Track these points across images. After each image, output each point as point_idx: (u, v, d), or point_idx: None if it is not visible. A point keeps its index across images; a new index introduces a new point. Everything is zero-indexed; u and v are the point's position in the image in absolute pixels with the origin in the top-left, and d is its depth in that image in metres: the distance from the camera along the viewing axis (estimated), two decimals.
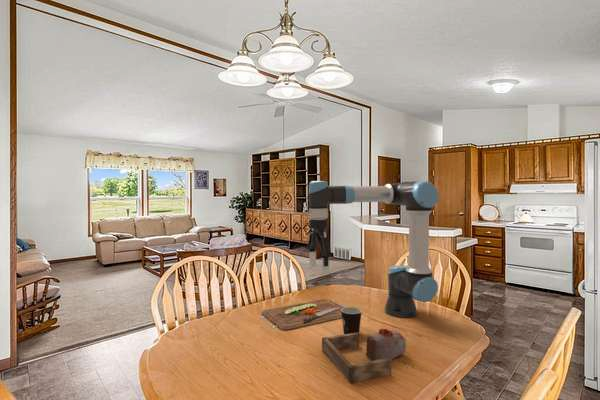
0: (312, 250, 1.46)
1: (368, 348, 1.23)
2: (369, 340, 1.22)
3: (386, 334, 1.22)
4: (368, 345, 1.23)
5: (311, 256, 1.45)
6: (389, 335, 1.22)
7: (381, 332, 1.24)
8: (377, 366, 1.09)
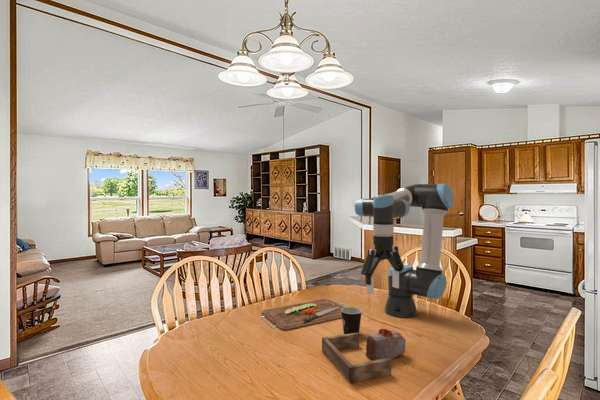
0: (396, 269, 1.33)
1: (368, 348, 1.23)
2: (368, 340, 1.22)
3: (386, 334, 1.22)
4: (368, 345, 1.23)
5: (393, 275, 1.34)
6: (389, 335, 1.22)
7: (381, 332, 1.24)
8: (377, 366, 1.09)
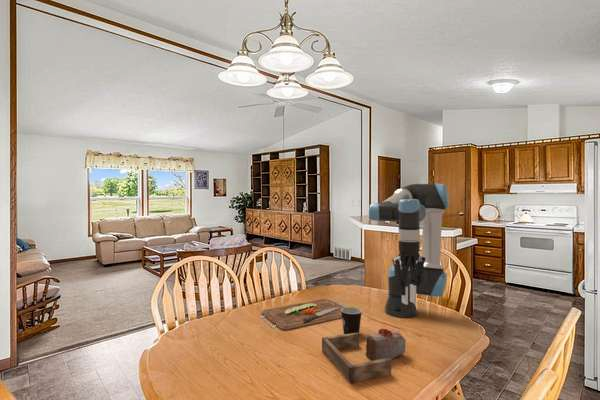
0: (413, 282, 1.27)
1: (368, 348, 1.23)
2: (368, 340, 1.22)
3: (386, 334, 1.22)
4: (368, 345, 1.23)
5: (411, 289, 1.28)
6: (389, 335, 1.22)
7: (381, 332, 1.24)
8: (377, 366, 1.09)
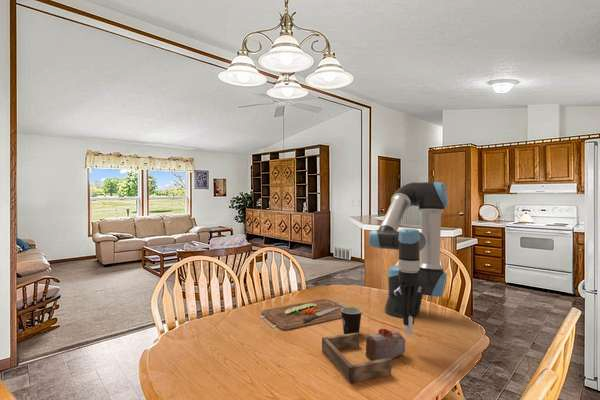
0: (410, 313, 1.27)
1: (368, 348, 1.23)
2: (368, 340, 1.22)
3: (386, 334, 1.22)
4: (368, 345, 1.23)
5: None
6: (389, 335, 1.22)
7: (381, 332, 1.24)
8: (377, 366, 1.09)
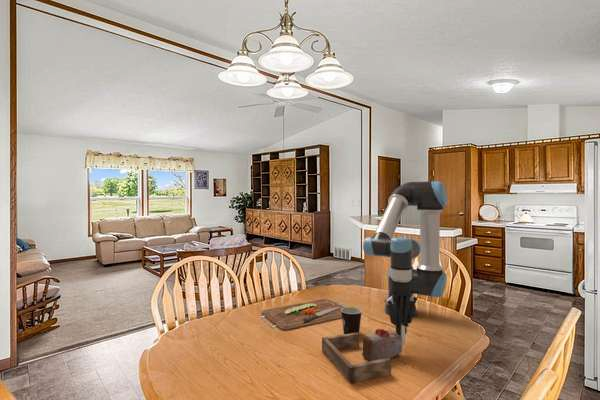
0: (403, 322, 1.26)
1: (364, 348, 1.22)
2: (365, 340, 1.22)
3: (382, 334, 1.22)
4: (364, 345, 1.22)
5: None
6: (385, 335, 1.22)
7: (377, 332, 1.23)
8: (377, 366, 1.09)
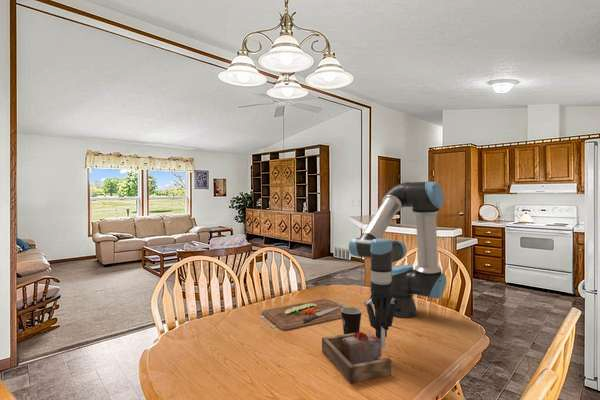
0: (383, 325, 1.23)
1: (342, 352, 1.20)
2: (343, 343, 1.19)
3: (361, 338, 1.19)
4: (342, 349, 1.20)
5: None
6: (364, 339, 1.19)
7: (356, 335, 1.21)
8: (377, 366, 1.09)
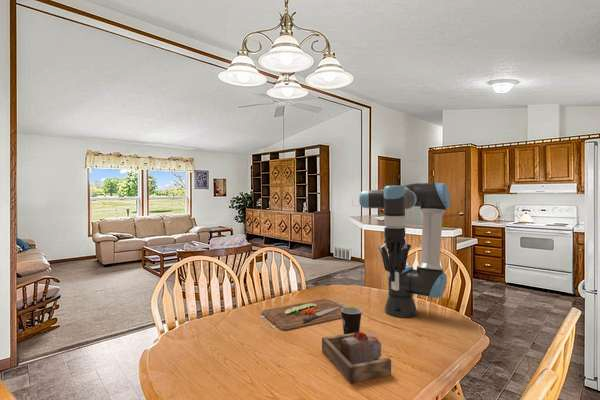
0: (396, 269, 1.27)
1: (342, 352, 1.20)
2: (343, 344, 1.19)
3: (361, 338, 1.19)
4: (342, 349, 1.20)
5: None
6: (364, 339, 1.19)
7: (356, 336, 1.21)
8: (377, 366, 1.09)
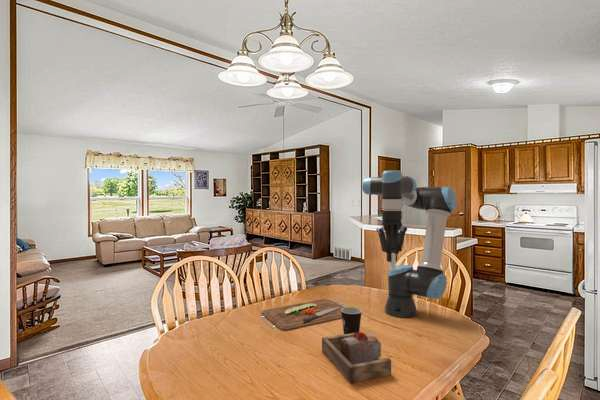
0: (393, 250, 1.33)
1: (342, 352, 1.20)
2: (342, 344, 1.19)
3: (360, 338, 1.19)
4: (342, 349, 1.20)
5: None
6: (364, 339, 1.19)
7: (356, 336, 1.21)
8: (377, 366, 1.09)
